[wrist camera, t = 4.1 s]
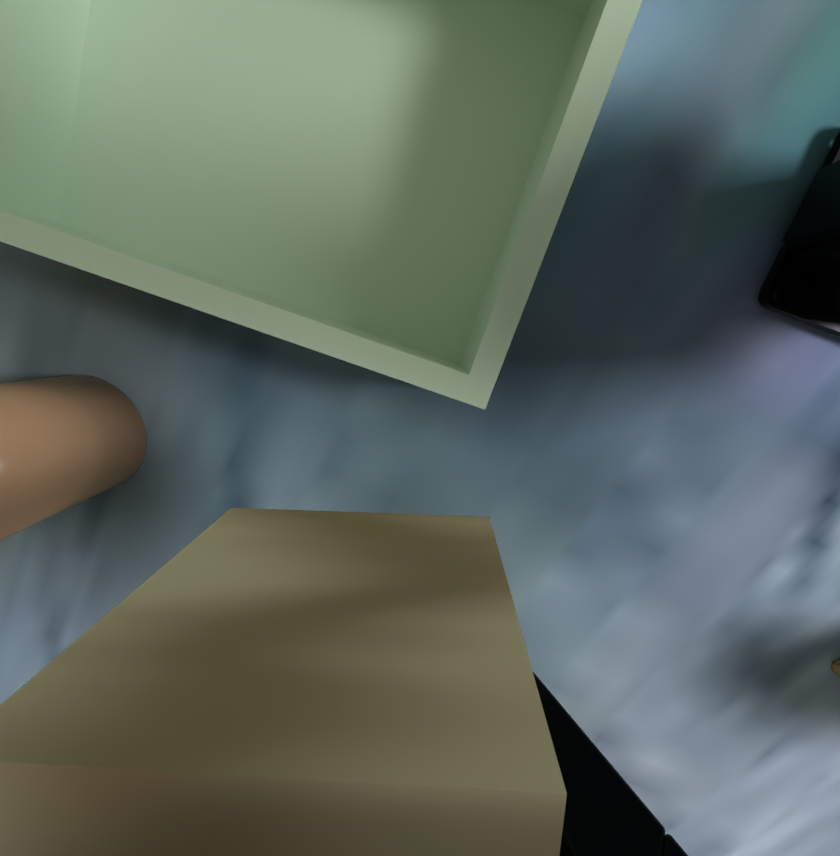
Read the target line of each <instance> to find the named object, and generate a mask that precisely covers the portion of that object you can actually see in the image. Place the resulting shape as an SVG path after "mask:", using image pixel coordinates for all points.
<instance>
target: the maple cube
mask: <svg viewBox="0 0 840 856" xmlns="http://www.w3.org/2000/svg"><path fill="white" fill-rule="evenodd" d="M566 797H567V792H566V789H565V785H564V782H563V778H562V774H561V771H560V767H559V764H558V760H557V757H556V753H555V750H554V746H553V742H552V739H551V735H550V732H549V728H548V725H547V721H546V717H545V714H544V710H543V707H542V703H541V700H540V696H539V693H538V689H537V685H536V682H535V678H534V675H533V671H532V668H531V664H530V660H529V657H528V653H527V650H526V646H525V643H524V639H523V636H522V632H521V628H520V625H519V621H518V618H517V614H516V611H515V607H514V604H513V600H512V596H511V593H510V589H509V586H508V582H507V579H506V575H505V571H504V568H503V564H502V561H501V557H500V554H499V550H498V547H497V543H496V539H495V536H494V532H493V529H492V525H491V522H490V518H489V517H479V516H450V515H421V514H392V513H363V512H334V511H305V510H277V509H248V508H231V509H230V510H228V511H227V512H226V513H225V514H224V515H222V516H221V517H220V518H219V519H218V520H217V521H215V522H214V523H213V524H212V525H211V526H210V527H208V528H207V529H206V530H205V531H204V532H203V533H201V534H200V535H199V536H198V537H197V538H196V539H194V540H193V541H192V542H191V543H190V544H189V545H187V546H186V547H185V548H184V549H183V550H181V551H180V552H179V553H178V554H177V555H176V556H174V557H173V558H172V559H171V560H170V561H169V562H167V563H166V564H165V565H164V566H163V567H162V568H160V569H159V570H158V571H157V572H156V573H155V574H153V575H152V576H151V577H150V578H149V579H148V580H146V581H145V582H144V583H143V584H142V585H140V586H139V587H138V588H137V589H136V590H135V591H133V592H132V593H131V594H130V595H129V596H128V597H126V598H125V599H124V600H123V601H122V602H121V603H119V604H118V605H117V606H116V607H115V608H114V609H112V610H111V611H110V612H109V613H108V614H107V615H105V616H104V617H103V618H102V619H101V620H99V621H98V622H97V623H96V624H95V625H94V626H92V627H91V628H90V629H89V630H88V631H87V632H85V633H84V634H83V635H82V636H81V637H80V638H78V639H77V640H76V641H75V642H74V643H73V644H71V645H70V646H69V647H68V648H67V649H66V650H64V651H63V652H62V653H61V654H60V655H58V656H57V657H56V658H55V659H54V660H53V661H51V662H50V663H49V664H48V665H47V666H46V667H44V668H43V669H42V670H41V671H40V672H39V673H37V674H36V675H35V676H34V677H33V678H32V679H30V680H29V681H28V682H27V683H26V684H24V685H23V686H22V687H21V688H20V689H19V690H17V691H16V692H15V693H14V694H13V695H12V696H10V697H9V698H8V699H7V700H6V701H5V702H3V703H2V704H1V705H0V856H559V855H560V847H561V839H562V830H563V822H564V814H565V806H566Z"/></svg>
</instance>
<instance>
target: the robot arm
mask: <svg viewBox="0 0 840 856" xmlns="http://www.w3.org/2000/svg"><path fill="white" fill-rule="evenodd" d="M776 289H777V290H778V291H779V297H778V299H777V300H775V299H774V296H773V295H774V292H775V290H776ZM759 302H760V304H761V306H763V307H764V308H766V309H769V310H772V311H774V312H777V313H780V314H783V315H785V316H788V317H791V318H793V319H796V320H799V321H802V322H804V323H807V324H810V325H812V326H815V327H818V328H821V329H823V330H826V331H829V332H831V333H834V334H837V335H840V133H839V134H838V136H837V138H836V140H835V142H834V144H833V146H832V148H831V150H830V152H829V154H828V156H827V158H826V160H825V162H824V164H823V166H822V168H821V169H820V170H819V171H818V172H817V173H816V175H815V177H814V179H813V181H812V183H811V185H810V187H809V189H808V191H807V193H806V195H805V197H804V199H803V201H802V203H801V205H800V207H799V209H798V211H797V213H796V215H795V217H794V219H793V221H792V223H791V225H790V227H789V229H788V231H787V233H786V235H785V237H784V239H783V246H782V248H781V250H780V252H779V254H778V256H777V258H776V260H775V262H774V264H773V266H772V268H771V270H770V272H769V274H768V276H767V278H766V280H765V282H764V284H763V286H762V288H761V290H760V293H759ZM533 675H534V678H535V682H536V685H537V689H538V693H539V696H540V700H541V703H542V707H543V710H544V714H545V717H546V721H547V725H548V728H549V732H550V735H551V739H552V742H553V746H554V750H555V753H556V757H557V760H558V764H559V767H560V771H561V774H562V778H563V782H564V785H565V789H566V792H567V797H566V806H565V814H564V822H563V830H562V839H561V847H560V855H559V856H688V855H687V854H686V853H685V852H684V850H683V849H682V848H681V847H680V846H679V844H678V843H677V842H676V841H675V840H674V838H673V837H672V836H671V835H669V834H666V835H665V828H664V827H663V826H662V825H661V823H660V822H659V821H658V820H657V819H656V817H655V816H654V815H653V814H652V813H651V811H650V810H649V809H648V808H647V807H646V806H645V804H644V803H643V802H642V801H641V800H640V798H639V797H638V796H637V795H636V794H635V792H634V791H633V790H632V789H631V788H630V786H629V785H628V784H627V783H626V782H625V781H624V779H623V778H622V777H621V776H620V775H619V773H618V772H617V771H616V770H615V769H614V767H613V766H612V765H611V764H610V763H609V761H608V760H607V759H606V758H605V757H604V756H603V754H602V753H601V752H600V751H599V750H598V748H597V747H596V746H595V745H594V744H593V742H592V741H591V740H590V739H589V738H588V736H587V735H586V734H585V733H584V732H583V731H582V729H581V728H580V727H579V726H578V725H577V723H576V722H575V721H574V720H573V719H572V717H571V716H570V715H569V714H568V713H567V711H566V710H565V709H564V708H563V707H562V706H561V704H560V703H559V702H558V701H557V700H556V698H555V697H554V696H553V695H552V694H551V692H550V691H549V690H548V689H547V688H546V686H545V685H544V684H543V683H542V682H541V681H540V679H539V678H538V677H537V676H536V675H535V673H534V672H533Z"/></svg>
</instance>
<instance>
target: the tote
mask: <svg viewBox="0 0 840 856" xmlns="http://www.w3.org/2000/svg"><path fill="white" fill-rule="evenodd" d="M642 1H643V0H0V242H3V243H6V244H9V245H12V246H15V247H18V248H21V249H24V250H26V251H29V252H32V253H35V254H38V255H41V256H44V257H47V258H49V259H52V260H55V261H58V262H61V263H64V264H67V265H70V266H73V267H75V268H78V269H81V270H84V271H87V272H90V273H93V274H96V275H98V276H101V277H104V278H107V279H110V280H113V281H116V282H119V283H122V284H124V285H127V286H130V287H133V288H136V289H139V290H142V291H145V292H147V293H150V294H153V295H156V296H159V297H162V298H165V299H168V300H171V301H173V302H176V303H179V304H182V305H185V306H188V307H191V308H194V309H196V310H199V311H202V312H205V313H208V314H211V315H214V316H217V317H220V318H222V319H225V320H228V321H231V322H234V323H237V324H240V325H243V326H245V327H248V328H251V329H254V330H257V331H260V332H263V333H266V334H269V335H271V336H274V337H277V338H280V339H283V340H286V341H289V342H292V343H294V344H297V345H300V346H303V347H306V348H309V349H312V350H315V351H318V352H320V353H323V354H326V355H329V356H332V357H335V358H338V359H341V360H343V361H346V362H349V363H352V364H355V365H358V366H361V367H364V368H367V369H369V370H372V371H375V372H378V373H381V374H384V375H387V376H390V377H392V378H395V379H398V380H401V381H404V382H407V383H410V384H413V385H415V386H418V387H421V388H424V389H427V390H430V391H433V392H436V393H439V394H441V395H444V396H447V397H450V398H453V399H456V400H459V401H462V402H464V403H467V404H470V405H473V406H476V407H479V408H482V409H486V406H487V403H488V401H489V398H490V396H491V393H492V390H493V388H494V385H495V383H496V380H497V377H498V375H499V372H500V370H501V367H502V364H503V362H504V359H505V357H506V354H507V351H508V349H509V346H510V344H511V341H512V338H513V336H514V333H515V331H516V328H517V325H518V323H519V320H520V318H521V315H522V312H523V310H524V307H525V305H526V302H527V299H528V297H529V294H530V292H531V289H532V286H533V284H534V281H535V279H536V276H537V273H538V271H539V268H540V266H541V263H542V260H543V258H544V255H545V253H546V250H547V247H548V245H549V242H550V240H551V237H552V234H553V232H554V229H555V227H556V224H557V221H558V219H559V216H560V214H561V211H562V208H563V206H564V203H565V201H566V198H567V196H568V193H569V190H570V188H571V185H572V183H573V180H574V177H575V175H576V172H577V170H578V167H579V164H580V162H581V159H582V157H583V154H584V151H585V149H586V146H587V144H588V141H589V138H590V136H591V133H592V131H593V128H594V125H595V123H596V120H597V118H598V115H599V112H600V110H601V107H602V105H603V102H604V99H605V97H606V94H607V92H608V89H609V86H610V84H611V81H612V79H613V76H614V73H615V71H616V68H617V66H618V63H619V60H620V58H621V55H622V53H623V50H624V47H625V45H626V42H627V40H628V37H629V34H630V32H631V29H632V27H633V24H634V21H635V19H636V16H637V14H638V11H639V8H640V6H641V3H642Z"/></svg>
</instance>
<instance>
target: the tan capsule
mask: <svg viewBox="0 0 840 856" xmlns="http://www.w3.org/2000/svg"><path fill="white" fill-rule="evenodd" d="M145 450H146V432H145V427H144V424H143V421H142V418H141V416H140V414H139V412H138V410H137V408H136V407H135V405H134V404H133V403H132V401H131V400H130V399H129V398H128V397H127V396H126V395H125V394H124V393H123V392H122V391H121V390H120V389H118V388H117V387H115V386H114V385H112V384H111V383H109V382H107V381H105V380H102V379H100V378H97V377H93V376H88V375H68V376H60V377H51V378H42V379H34V380H25V381H16V382H8V383H0V541H1V540H3V539H5V538H7V537H9V536H11V535H13V534H15V533H17V532H19V531H21V530H24V529H26V528H28V527H30V526H32V525H34V524H36V523H38V522H40V521H42V520H44V519H47V518H49V517H51V516H53V515H55V514H57V513H59V512H61V511H63V510H65V509H68V508H70V507H72V506H74V505H76V504H78V503H80V502H82V501H84V500H86V499H88V498H91V497H93V496H95V495H97V494H99V493H101V492H103V491H105V490H107V489H109V488H111V487H114V486H116V485H118V484H120V483H122V482H124V481H125V480H127V479H128V478H129V477H131V476H132V475H133V474H134V473H135V472H136V471H137V469H138V468H139V466H140V465H141V462H142V460H143V458H144V454H145Z"/></svg>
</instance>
